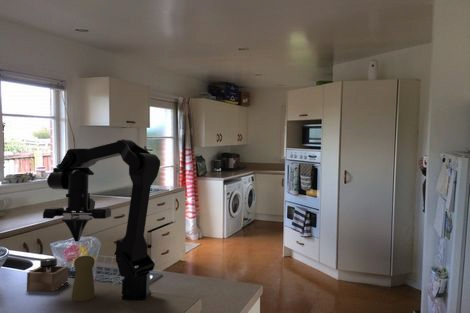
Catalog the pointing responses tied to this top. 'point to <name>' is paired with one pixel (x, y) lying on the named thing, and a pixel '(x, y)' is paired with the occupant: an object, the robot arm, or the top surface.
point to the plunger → (48, 263)
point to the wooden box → (46, 278)
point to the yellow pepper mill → (83, 279)
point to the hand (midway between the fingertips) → (77, 241)
